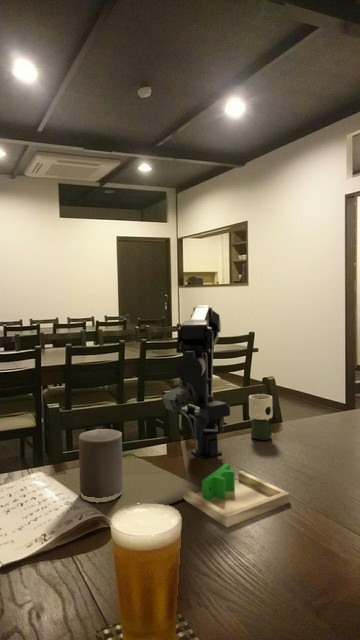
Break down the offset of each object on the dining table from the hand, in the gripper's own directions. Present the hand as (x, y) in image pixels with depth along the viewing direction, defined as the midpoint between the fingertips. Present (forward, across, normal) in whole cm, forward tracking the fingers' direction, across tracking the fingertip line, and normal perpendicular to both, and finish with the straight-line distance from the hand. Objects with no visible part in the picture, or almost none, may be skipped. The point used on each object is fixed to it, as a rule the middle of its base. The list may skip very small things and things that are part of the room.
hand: (197, 439), depth 106 cm
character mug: (+10, -13, +33) cm, 37 cm away
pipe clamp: (+10, +9, 0) cm, 14 cm away
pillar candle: (+10, -7, -22) cm, 25 cm away
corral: (+10, +13, 0) cm, 16 cm away
